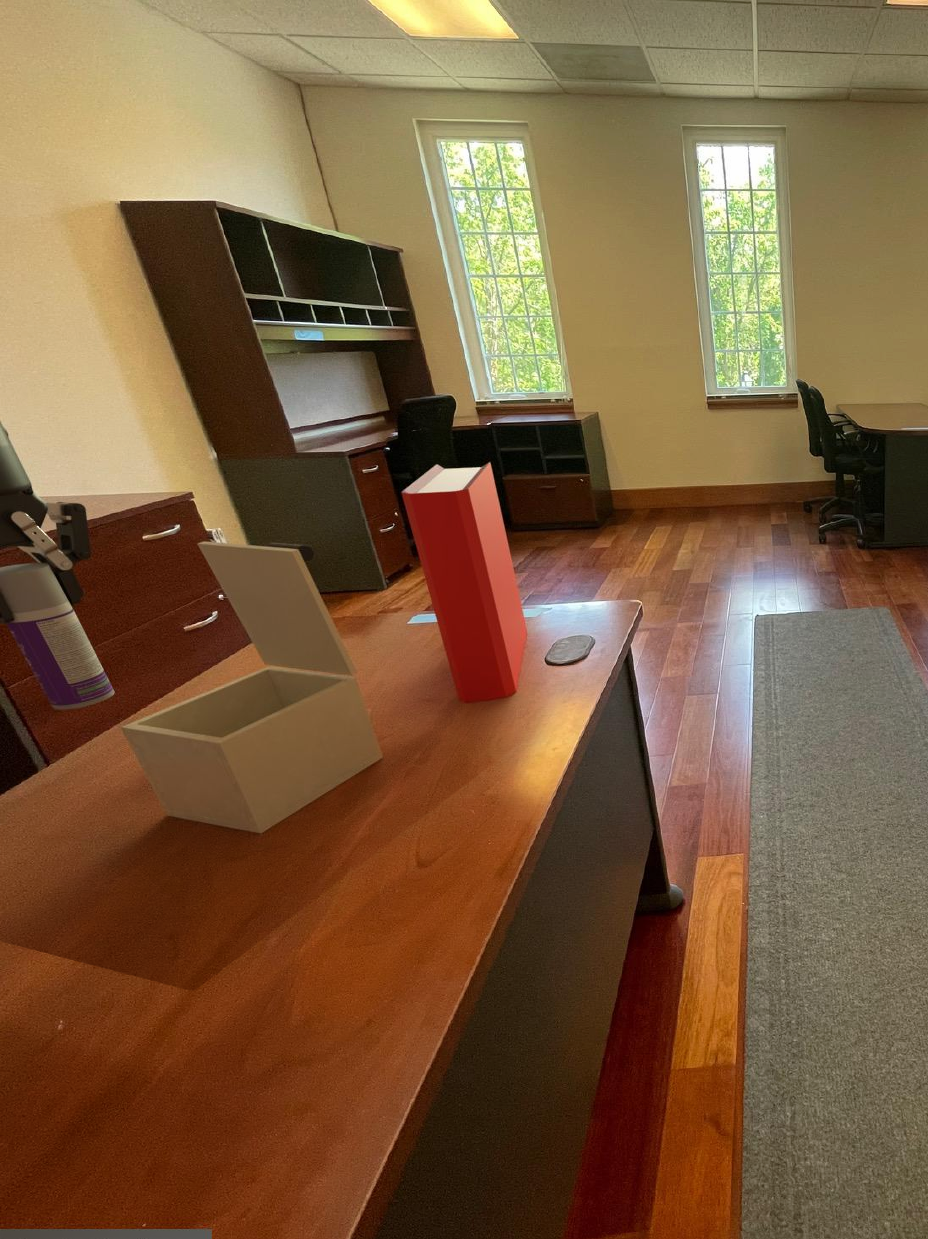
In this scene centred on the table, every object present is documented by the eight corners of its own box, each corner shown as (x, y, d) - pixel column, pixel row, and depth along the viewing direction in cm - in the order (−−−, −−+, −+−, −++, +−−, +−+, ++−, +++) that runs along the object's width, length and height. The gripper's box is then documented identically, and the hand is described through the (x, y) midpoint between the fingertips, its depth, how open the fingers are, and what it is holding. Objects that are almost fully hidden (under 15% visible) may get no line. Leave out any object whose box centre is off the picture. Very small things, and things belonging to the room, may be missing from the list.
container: (40, 706, 72) (-34, 573, 66) (96, 687, 76) (30, 561, 70) (72, 712, 71) (-1, 578, 65) (126, 692, 75) (62, 564, 69)
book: (480, 638, 125) (436, 464, 112) (527, 632, 127) (490, 461, 114) (457, 704, 101) (398, 494, 88) (515, 695, 104) (466, 490, 91)
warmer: (260, 833, 74) (219, 743, 69) (166, 815, 77) (120, 727, 72) (383, 757, 88) (356, 677, 83) (300, 744, 91) (268, 666, 86)
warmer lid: (291, 551, 74) (334, 534, 79) (196, 543, 77) (243, 527, 82) (352, 675, 83) (387, 654, 87) (264, 664, 86) (303, 644, 90)
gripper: (22, 433, 69) (97, 588, 76) (-206, 451, 56) (-90, 635, 63) (75, 436, 68) (147, 593, 75) (-147, 454, 55) (-35, 642, 62)
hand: (37, 611), depth 69 cm, fingers closed on container, 4 cm apart
